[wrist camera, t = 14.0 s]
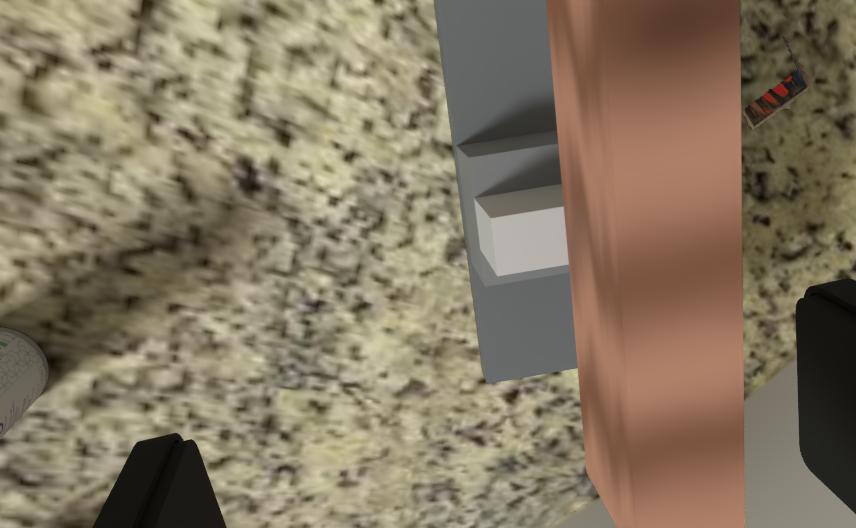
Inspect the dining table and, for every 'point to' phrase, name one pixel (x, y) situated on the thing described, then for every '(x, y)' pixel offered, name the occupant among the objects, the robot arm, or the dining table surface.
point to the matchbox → (777, 96)
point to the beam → (655, 251)
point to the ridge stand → (509, 183)
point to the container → (19, 376)
